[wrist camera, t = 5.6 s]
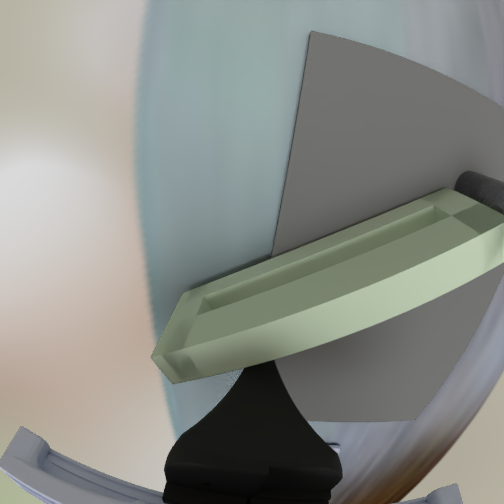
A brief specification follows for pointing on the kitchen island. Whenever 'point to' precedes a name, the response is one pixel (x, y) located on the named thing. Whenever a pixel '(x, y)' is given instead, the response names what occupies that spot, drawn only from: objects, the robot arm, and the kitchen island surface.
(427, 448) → the kitchen island surface
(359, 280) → the pale green slotted bar
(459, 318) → the mat
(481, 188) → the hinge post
